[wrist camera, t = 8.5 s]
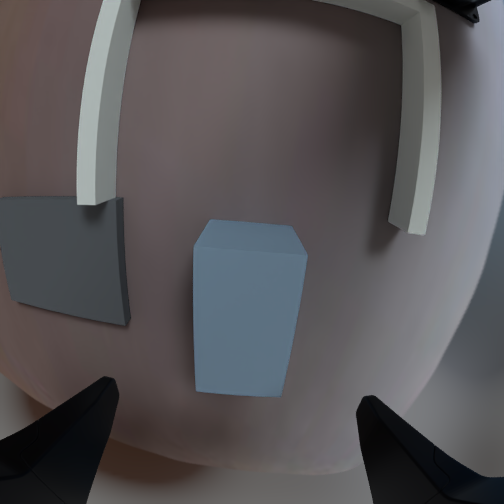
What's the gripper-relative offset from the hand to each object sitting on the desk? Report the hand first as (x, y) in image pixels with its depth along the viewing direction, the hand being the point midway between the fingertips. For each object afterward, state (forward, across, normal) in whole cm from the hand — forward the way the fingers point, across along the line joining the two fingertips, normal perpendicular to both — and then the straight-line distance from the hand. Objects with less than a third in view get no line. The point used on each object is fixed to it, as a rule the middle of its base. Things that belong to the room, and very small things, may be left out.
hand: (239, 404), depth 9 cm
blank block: (+9, 0, 0) cm, 9 cm away
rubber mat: (+9, +13, -1) cm, 16 cm away
